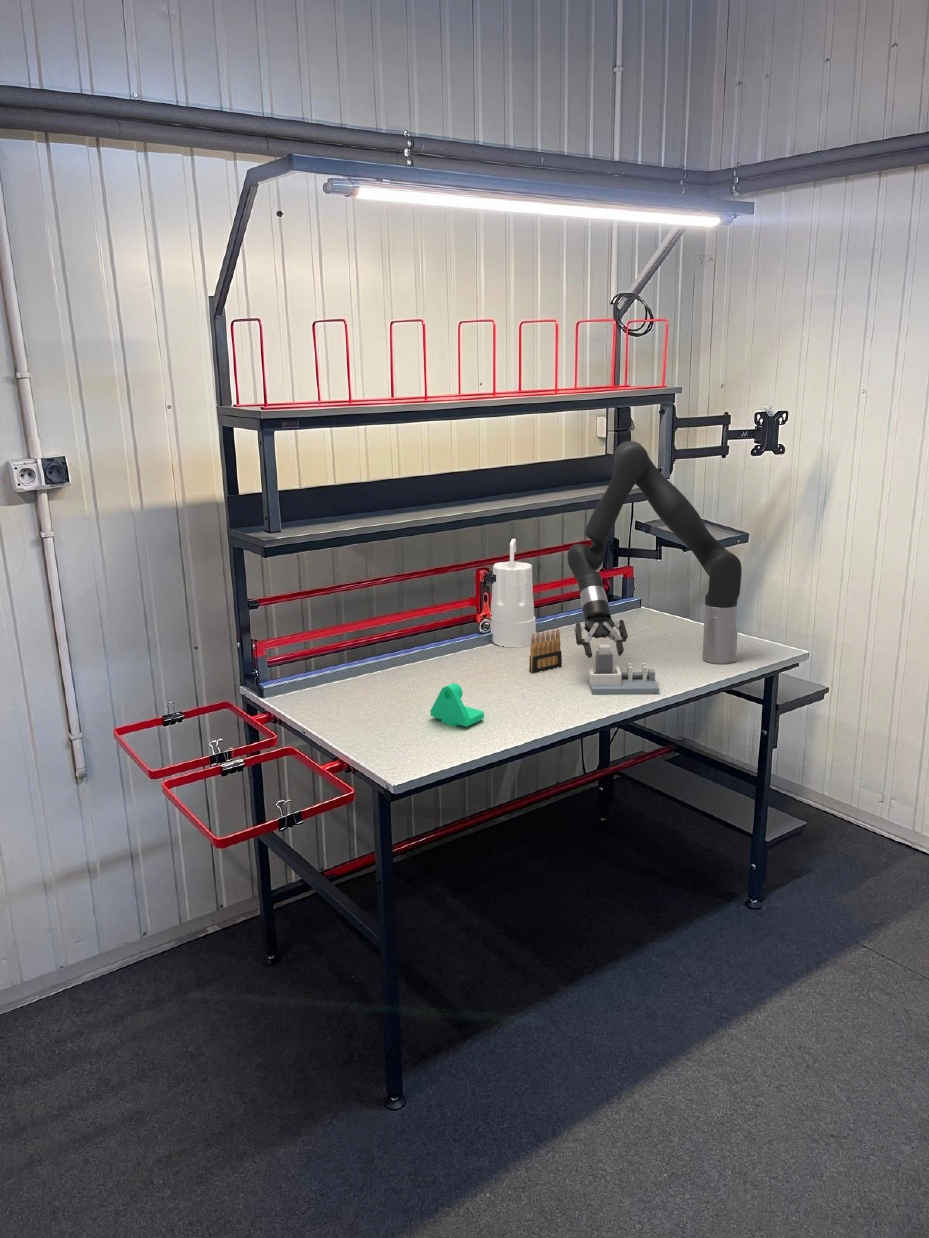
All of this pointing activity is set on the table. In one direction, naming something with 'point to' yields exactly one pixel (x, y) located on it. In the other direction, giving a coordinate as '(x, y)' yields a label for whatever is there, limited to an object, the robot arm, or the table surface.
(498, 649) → the table surface
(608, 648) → the block
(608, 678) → the board
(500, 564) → the white tapered cylinder
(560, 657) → the ammunition clip
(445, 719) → the camera mount
